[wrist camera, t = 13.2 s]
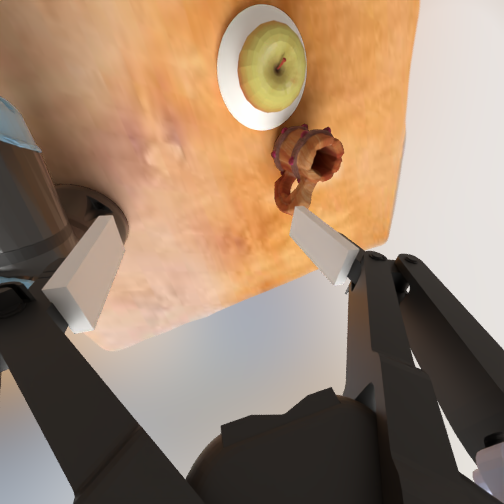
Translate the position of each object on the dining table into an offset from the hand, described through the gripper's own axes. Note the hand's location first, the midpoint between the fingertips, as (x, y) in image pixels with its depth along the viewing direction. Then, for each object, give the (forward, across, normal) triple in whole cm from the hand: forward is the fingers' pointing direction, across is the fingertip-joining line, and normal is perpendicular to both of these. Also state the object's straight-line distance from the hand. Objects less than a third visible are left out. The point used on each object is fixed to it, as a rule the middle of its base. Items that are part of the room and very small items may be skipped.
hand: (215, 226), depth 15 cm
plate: (+28, +12, +13) cm, 33 cm away
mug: (+28, +18, 0) cm, 33 cm away
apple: (+27, +12, +13) cm, 32 cm away
